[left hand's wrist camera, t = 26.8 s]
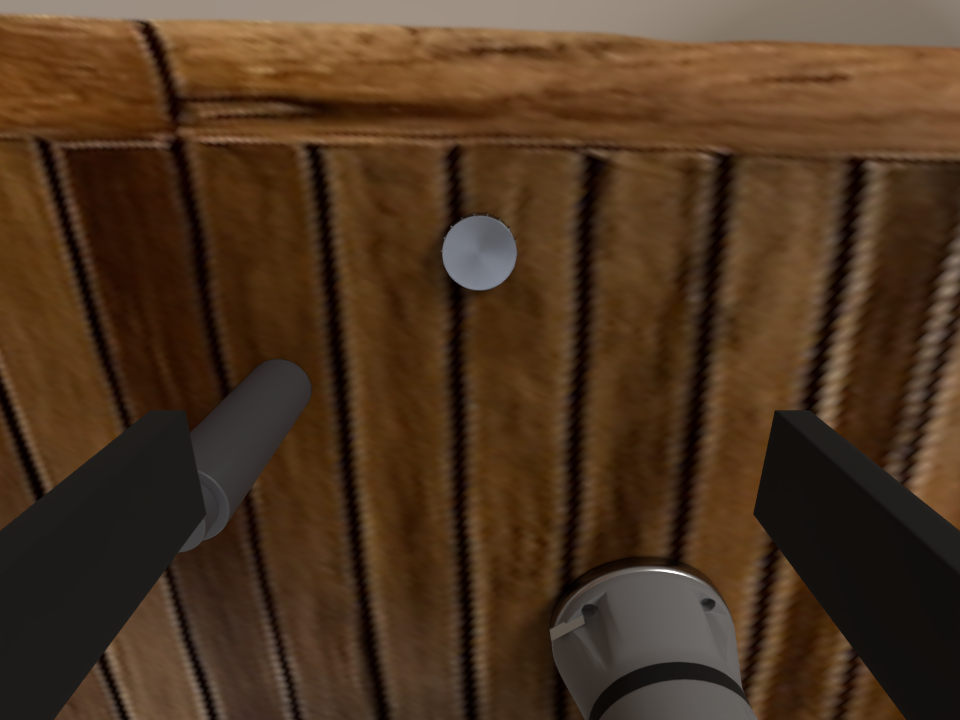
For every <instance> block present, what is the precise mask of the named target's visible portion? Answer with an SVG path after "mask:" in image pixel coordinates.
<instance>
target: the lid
mask: <svg viewBox="0 0 960 720" xmlns="http://www.w3.org/2000/svg"><path fill="white" fill-rule="evenodd" d="M510 230H511V229H510V227H509V226H507V225H506V224H505V223H504V222H503V221H502V220H501V219H500V217H499V218H497V217H495V216H493V215H491V214H488V212H487V213H475V212H473V213H472V214H468V215H466V216H461V218H460V219H458V220H457V221H456V222H455V223H454V224H451V226H450V229H449V230H448V232H447V234H446V235H445V236H444V238H443V239H444V242H443V247H442V249H441V252H442V259H443V265H444V266H445V269H446V271H447V272H448V274H449V276H450V277H451V278H452V279H453V280H454V281H455V282H457V283H458V284H459V285H461V286H463V287H465V288H468V289H471V290H487V289H491V288H494V287H496V286H498V285H500V284H501V283H502V282H504V281H505V280H506V279H507V278H508V276H509V275H510V274H511V272H512V270H513V268H514V267H515V263H516V258H517V255H518V253H517V249H516V243H515V242H516V239H515V238H514V237H513V235H512V233H511V231H510Z"/></svg>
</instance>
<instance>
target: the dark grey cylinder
mask: <svg viewBox="0 0 960 720" xmlns="http://www.w3.org/2000/svg"><path fill="white" fill-rule="evenodd" d="M310 397H311V384H310V381H309V378H308V377H307V375H306V374H305V372H304V371H303V370H302V369H301V368H300V367H299V366H297V365H296V364H294V363H292V362H290V361H287V360H282V359H272V360H268V361H265V362H263V363H261V364H260V365H258V366H257V367H256V368H255V369H254V370H253V371H252V372H251V373H250V374H249V375H248V376H247V377H246V378H245V379H244V380H243V381H242V382H241V383H240V384H239V385H238V386H237V387H236V388H235V389H234V390H233V391H232V392H231V393H230V394H229V395H228V396H227V397H226V398H225V399H224V400H223V401H222V402H221V403H220V404H219V405H218V406H217V407H216V408H215V409H214V410H213V411H212V412H211V413H210V414H209V415H208V416H207V417H206V418H205V419H203V420H202V421H201V422H200V423H199V424H198V425H197V426H196V427H195V428H194V429H193V430H192V431H191V432H190V437H191V441H192V446H193V451H194V456H195V461H196V465H197V470H198V475H199V480H200V485H201V490H202V494H203V499H204V504H205V509H206V516H205V517H204V518H203V520H202V521H201V522H200V524H199V525H198V526H197V528H196V529H195V530H194V532H193V533H192V534H191V536H190V537H189V538H188V540H187V541H186V542H185V544H184V545H183V547H182V548H181V549H180V551H179V552H185V551H188V550H191V549H193V548H195V547H196V546H197V545H199V544H200V543H201V541H202V540H206V539H209V538H211V537H213V536H215V535H217V534H218V533H219V532H221V531H222V530H223V529H224V527H225V526H226V524H227V523H228V521H229V520H230V518H231V517H232V515H233V514H234V512H235V511H236V509H237V508H238V506H239V505H240V503H241V502H242V500H243V499H244V498H245V496H246V495H247V493H248V492H249V490H250V489H251V487H252V486H253V484H254V483H255V481H256V480H257V478H258V477H259V475H260V474H261V472H262V471H263V469H264V468H265V466H266V465H267V463H268V462H269V460H270V459H271V457H272V456H273V454H274V453H275V451H276V450H277V448H278V447H279V445H280V444H281V442H282V441H283V439H284V438H285V436H286V435H287V433H288V432H289V431H290V429H291V428H292V426H293V425H294V423H295V422H296V420H297V419H298V417H299V416H300V414H301V413H302V411H303V410H304V408H305V407H306V405H307V404H308V402H309V400H310Z"/></svg>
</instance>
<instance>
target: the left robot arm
mask: <svg viewBox="0 0 960 720" xmlns="http://www.w3.org/2000/svg"><path fill="white" fill-rule="evenodd" d="M205 516H206V509H205V504H204V499H203V494H202V490H201V485H200V480H199V475H198V470H197V465H196V461H195V456H194V451H193V446H192V441H191V437H190V432H189V427H188V422H187V417H186V413H185V410H151V411H149V412H148V413H147V414H146V415H144V416H143V417H142V418H141V419H139V420H138V421H137V422H136V423H134V424H133V425H132V426H131V427H129V428H128V429H127V430H126V431H124V432H123V433H122V434H121V435H119V436H118V437H117V438H116V439H114V440H113V441H112V442H111V443H109V444H108V445H107V446H106V447H104V448H103V449H102V450H101V451H99V452H98V453H97V454H96V455H94V456H93V457H92V458H91V459H89V460H88V461H87V462H86V463H84V464H83V465H82V466H81V467H79V468H78V469H77V470H76V471H74V472H73V473H72V474H71V475H69V476H68V477H67V478H66V479H64V480H63V481H62V482H61V483H59V484H58V485H57V486H56V487H54V488H53V489H52V490H51V491H49V492H48V493H47V494H46V495H44V496H43V497H42V498H41V499H39V500H38V501H37V502H36V503H34V504H33V505H32V506H31V507H29V508H28V509H27V510H26V511H24V512H23V513H22V514H21V515H19V516H18V517H17V518H16V519H14V520H13V521H12V522H11V523H10V524H8V525H7V526H6V527H5V528H3V529H2V530H1V531H0V720H54V719H55V717H56V716H57V714H58V713H59V712H60V710H61V709H62V708H63V706H64V705H65V704H66V702H67V701H68V700H69V698H70V697H71V696H72V694H73V693H74V692H75V690H76V689H77V688H78V686H79V685H80V684H81V682H82V681H83V680H84V678H85V677H86V676H87V674H88V673H89V671H90V670H91V669H92V667H93V666H94V665H95V663H96V662H97V661H98V659H99V658H100V657H101V655H102V654H103V653H104V651H105V650H106V649H107V647H108V646H109V645H110V643H111V642H112V641H113V639H114V638H115V637H116V635H117V634H118V633H119V631H120V630H121V628H122V627H123V626H124V624H125V623H126V622H127V620H128V619H129V618H130V616H131V615H132V614H133V612H134V611H135V610H136V608H137V607H138V606H139V604H140V603H141V602H142V600H143V599H144V598H145V596H146V595H147V594H148V592H149V591H150V590H151V588H152V587H153V585H154V584H155V583H156V581H157V580H158V579H159V577H160V576H161V575H162V573H163V572H164V571H165V569H166V568H167V567H168V565H169V564H170V563H171V561H172V560H173V559H174V557H175V556H176V555H177V553H178V552H179V551H180V549H181V548H182V547H183V545H184V544H185V542H186V541H187V540H188V538H189V537H190V536H191V534H192V533H193V532H194V530H195V529H196V528H197V526H198V525H199V524H200V522H201V521H202V520H203V518H204V517H205ZM754 516H755V517H756V518H757V520H758V521H759V522H760V524H761V525H762V526H763V528H764V529H765V530H766V532H767V533H768V534H769V536H770V537H771V538H772V540H773V541H774V542H775V544H776V545H777V547H778V548H779V549H780V551H781V552H782V553H783V555H784V556H785V557H786V559H787V560H788V561H789V563H790V564H791V565H792V567H793V568H794V569H795V571H796V572H797V573H798V575H799V576H800V577H801V579H802V580H803V581H804V583H805V584H806V585H807V587H808V588H809V590H810V591H811V592H812V594H813V595H814V596H815V598H816V599H817V600H818V602H819V603H820V604H821V606H822V607H823V608H824V610H825V611H826V612H827V614H828V615H829V616H830V618H831V619H832V620H833V622H834V623H835V624H836V626H837V627H838V628H839V630H840V631H841V633H842V634H843V635H844V637H845V638H846V639H847V641H848V642H849V643H850V645H851V646H852V647H853V649H854V650H855V651H856V653H857V654H858V655H859V657H860V658H861V659H862V661H863V662H864V663H865V665H866V666H867V667H868V669H869V670H870V671H871V673H872V674H873V676H874V677H875V678H876V680H877V681H878V682H879V684H880V685H881V686H882V688H883V689H884V690H885V692H886V693H887V694H888V696H889V697H890V698H891V700H892V701H893V702H894V704H895V705H896V706H897V708H898V709H899V710H900V712H901V713H902V714H903V716H904V717H905V719H906V720H960V531H959V530H958V529H957V528H955V527H954V526H953V525H952V524H950V523H949V522H948V521H947V520H945V519H944V518H943V517H942V516H941V515H939V514H938V513H937V512H936V511H934V510H933V509H932V508H931V507H929V506H928V505H927V504H926V503H924V502H923V501H922V500H921V499H919V498H918V497H917V496H916V495H914V494H913V493H912V492H911V491H909V490H908V489H907V488H906V487H904V486H903V485H902V484H901V483H899V482H898V481H897V480H896V479H894V478H893V477H892V476H891V475H889V474H888V473H887V472H886V471H884V470H883V469H882V468H881V467H879V466H878V465H877V464H876V463H874V462H873V461H872V460H871V459H869V458H868V457H867V456H866V455H864V454H863V453H862V452H861V451H859V450H858V449H857V448H856V447H854V446H853V445H852V444H851V443H849V442H848V441H847V440H846V439H844V438H843V437H842V436H841V435H839V434H838V433H837V432H836V431H834V430H833V429H832V428H831V427H829V426H828V425H827V424H826V423H824V422H823V421H822V420H821V419H819V418H818V417H817V416H816V415H814V414H813V413H812V412H811V411H809V410H775V413H774V417H773V422H772V427H771V432H770V437H769V441H768V446H767V451H766V456H765V461H764V465H763V470H762V475H761V480H760V485H759V490H758V494H757V499H756V504H755V509H754ZM550 637H551V645H552V652H553V657H554V661H555V663H556V666H557V668H558V671H559V673H560V675H561V677H562V679H563V680H564V682H565V684H566V686H567V688H568V690H569V691H570V693H571V695H572V697H573V699H574V701H575V702H576V704H577V706H578V708H579V710H580V712H581V713H582V715H583V717H584V719H585V720H757V718H756V716H755V714H754V712H753V710H752V708H751V706H750V704H749V702H748V700H747V698H746V696H745V694H744V691H743V689H742V685H741V677H740V668H739V660H738V652H737V644H736V636H735V629H734V624H733V620H732V616H731V613H730V611H729V609H728V607H727V605H726V603H725V601H724V599H723V598H722V596H721V594H720V592H719V590H718V589H717V588H716V586H715V585H714V584H713V583H712V581H711V580H710V579H709V578H707V577H706V576H705V575H704V574H702V573H701V572H700V571H698V570H696V569H695V568H693V567H691V566H689V565H686V564H684V563H681V562H678V561H675V560H671V559H666V558H659V557H636V558H628V559H622V560H618V561H614V562H611V563H608V564H605V565H603V566H601V567H598V568H596V569H594V570H592V571H591V572H589V573H587V574H586V575H584V576H582V577H581V578H580V579H579V580H577V581H576V582H575V583H574V584H573V585H572V586H570V587H569V588H568V590H567V591H566V592H565V593H564V594H563V596H562V597H561V598H560V600H559V602H558V603H557V605H556V607H555V610H554V612H553V615H552V618H551V624H550Z"/></svg>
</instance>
